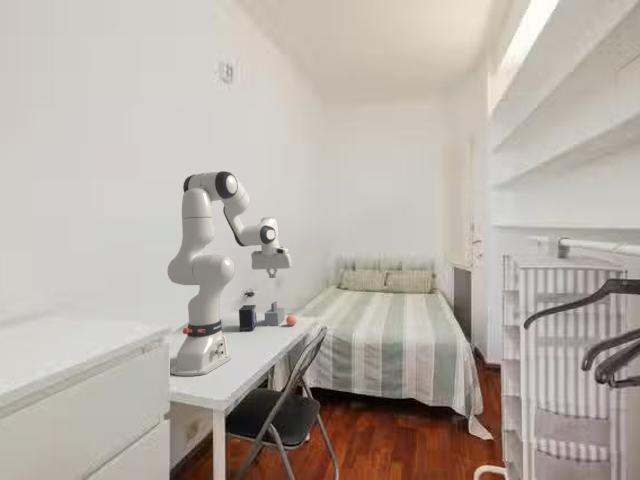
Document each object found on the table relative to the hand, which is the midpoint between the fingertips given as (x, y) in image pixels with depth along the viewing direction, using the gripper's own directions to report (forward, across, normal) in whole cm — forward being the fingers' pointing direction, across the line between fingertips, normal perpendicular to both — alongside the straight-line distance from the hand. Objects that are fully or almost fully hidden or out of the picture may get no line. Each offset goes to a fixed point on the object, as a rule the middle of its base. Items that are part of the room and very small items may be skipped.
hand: (272, 277), depth 183 cm
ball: (+20, +10, -5) cm, 23 cm away
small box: (+23, -10, -10) cm, 27 cm away
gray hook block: (+23, 0, 0) cm, 23 cm away
